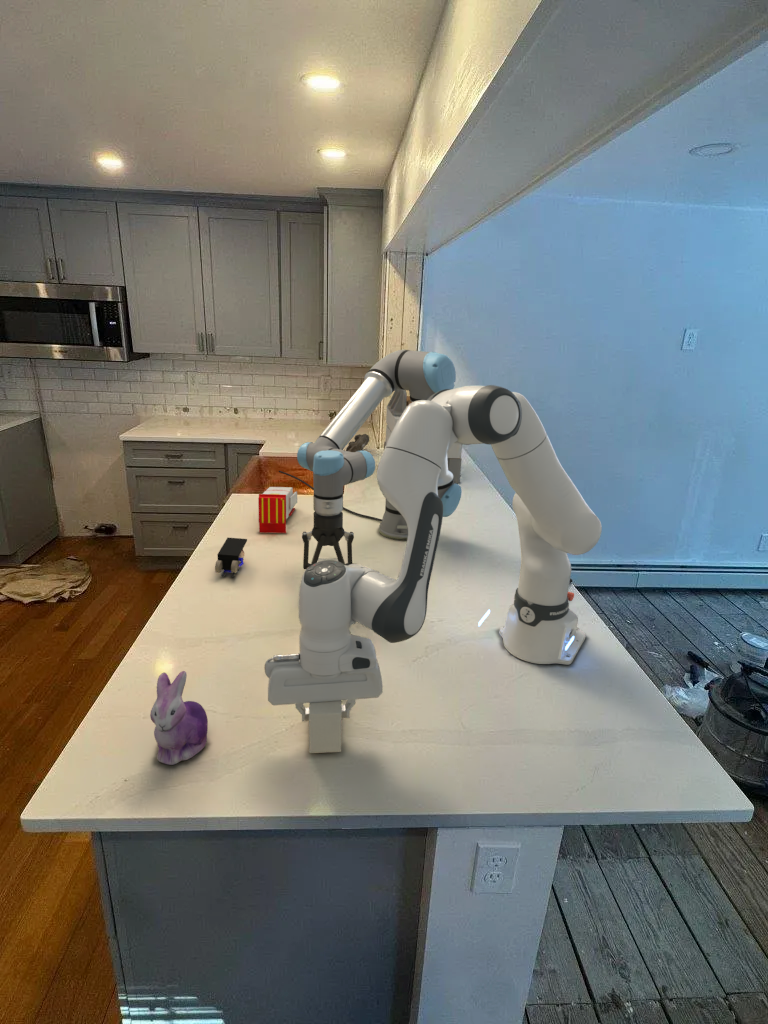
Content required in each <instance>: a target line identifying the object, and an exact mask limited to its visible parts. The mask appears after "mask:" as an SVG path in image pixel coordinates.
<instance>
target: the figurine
mask: <svg viewBox="0 0 768 1024" xmlns="http://www.w3.org/2000/svg"><path fill="white" fill-rule="evenodd" d="M187 676H188V675H187V672H186V671H185V670H182V671H180V672H179V673H178V674H177V675H176V677H175V679H173V681H172V682H171V681H170V677H169V675H168V674H167V672H162V673H161V674H160V675H159V676H158V677H157V681H156V699H155V701H154V702H153V705H152V708H151V710H150V715H149V717H150V720H151V722H152V723H153V724H154V725H155V727H154V729H153V736H154V740H155V742H156V743H157V747H158V750H157V751H158V752H157V757H156V758H157V761H159V762H160V763H162V764H165V765H168V766H169V765H171V766H172V765H177V764H178V763H180V762H182V761H188V760H190V759H191V758H193V757H194V756H196V755H197V754H199V753H200V752H201V751H202V750H203V749H204V748H205V747H206V745H207V741H208V730H209V729H208V728H209V727H208V726H209V723H208V721H209V720H208V715H207V713H206V710H205V708H204V707H203V705H202V704H200V703H199V702H197V701H194V700H186V701H184V700H183V697H182V696H183V693H184V688H185V687H186V681H187Z"/></svg>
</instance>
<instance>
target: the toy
mask: <svg viewBox="0 0 768 1024" xmlns="http://www.w3.org/2000/svg"><path fill="white" fill-rule="evenodd" d="M293 490H294V488H293V487H288V486H286V487H285V486H269V487H268V488H267V489H265V490H264V492H262V493H258V498H257V499H258V530H259V531H258V533H261V534H262V533H264V534H287V520H288V518H289V517H291V516H292V515H293V514H294V512H295V510H296V508H295V506H296V504H298V491H297V490H296V491H293Z"/></svg>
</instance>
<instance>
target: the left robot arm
mask: <svg viewBox="0 0 768 1024" xmlns="http://www.w3.org/2000/svg"><path fill="white" fill-rule="evenodd" d="M456 374H457V372H456V367H455V364H454V362H453V360H452V359H451V358H450V357H449V356H448V355H447V354H445V353H438V352H436V351H424V350H423V351H421V350H411V349H398V350H395V351H392V352H390V353H389V354H386V355H385V356H383V357H382V358H380V359H379V360H378V361H377V362H376V363H375V364H373V365H372V367H371V368H370V369H368V371H367V372H366V373H365V375H364V378H363V379H364V381H363V382H362V384H361V385H360V386H359V387H358V388H357V390H355V392H354V393H353V395H352V396H351V397H350V398H349V399H348V400H347V402H346V403H345V404H344V405H343V407H342V408H341V409H340V410H339V412H338V413H337V414H335V416H334V418H333V419H332V420H331V421H330V422H329V423H328V425H327V426H326V427H325V429H324V430H323V431H322V432H321V433H320V434H319V436H318V437H317V439H315V441H314V442H312V441H310V442H309V441H307V442H304V443H302V444H300V446H299V448H298V450H297V453H296V460H297V464H298V465H299V466H300V467H301V468H303V469H306V470H309V471H311V472H312V478H313V479H312V480H313V482H312V483H313V486H312V485H310V484H309V483H307V482H306V481H304V480H303V479H301V478H298V477H296V476H295V475H292V474H290V473H288V472H285V471H282V470H278V473H279V474H280V473H281V474H283V475H286V476H288V477H291V478H293V479H295V480H297V481H299V482H301V483H303V484H304V485H305V486H307V487H309V489H311V490H313V496H312V497H313V501H312V502H313V504H312V505H313V526H312V529H311V531H302V533H301V539H302V542H303V558H302V559H303V561H302V563H303V565H302V568H303V570H304V571H305V570H306V569H307V568H308V567H309V566H311V565H313V564H315V563H317V562H318V558H320V555H321V551H322V550H323V547H327V546H329V547H333V549H334V552H335V555H336V558H338V562H341V563H342V564H344V565H346V566H347V565H349V564H353V541H354V538H355V533H354V532H353V531H350V532H349V531H345V529H344V526H343V525H344V513H343V511H346V512H348V513H350V514H353V515H356V516H359V517H362V518H365V519H366V518H367V519H371V520H374V521H378V522H379V525H378V533H379V534H380V535H381V536H382V537H385V538H387V539H389V540H395V541H407V539H408V527H407V523H406V521H405V519H404V517H403V516H402V515H401V513H400V512H399V511H398V510H397V509H396V508H395V507H394V506H393V505H392V504H390V503H389V502H388V501H387V499H386V498H385V504H384V505H385V507H384V508H385V509H384V513H383V515H382V518H378V517H375V516H370V515H366V514H363V513H359V512H355V511H353V510H351V509H348V508H346V507H344V486H346V485H347V486H348V485H350V484H353V483H356V482H359V481H363V480H365V479H367V478H370V477H371V476H372V475H373V474H374V473H375V470H376V460H375V457H374V455H373V454H372V453H371V452H369V451H367V450H363V451H362V450H361V451H356V452H349V451H346V450H344V449H345V448H346V447H347V446H348V445H349V442H351V440H352V439H353V437H355V436H356V435H357V433H358V432H359V430H360V429H361V427H362V426H363V425H364V424H365V423H366V421H367V420H368V418H370V416H371V415H372V414H373V412H374V411H375V410H376V409H377V407H378V406H379V405H380V404H381V403H382V401H383V400H384V399H385V398H389V397H390V396H392V395H393V393H394V392H395V390H398V389H403V390H406V391H408V393H409V396H410V401H411V402H414V401H418V400H427V399H428V398H429V397H430V396H432V395H433V394H435V393H436V392H439V391H441V390H445V389H455V383H456V380H457V378H456V377H457V375H456ZM438 497H439V498H440V499H441V501H442V503H443V518H447V517H450V516H452V515H453V514H454V512H455V511H456V509H457V508H458V506H459V504H460V501H461V498H462V487H461V485H460V484H459V483H454V480H453V474H452V473H451V472H450V471H449V470H448V460H447V454H446V458H445V461H444V464H443V466H442V469H441V472H440V475H439V479H438ZM312 537H313V538H314V540H315V541H316V542H317V543H316V546H315V549H314V553H313V556H312V559H311V563H309V555H310V554H309V552H310V541H311V540H312ZM343 537H344V540H345V541H346V548H347V549H346V551H347V562H345V559H344V556H343V552H342V549H341V546H340V543H339V542H340V541H341V540H342V539H343Z"/></svg>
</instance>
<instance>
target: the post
mask: <svg viewBox="0 0 768 1024" xmlns="http://www.w3.org/2000/svg"><path fill="white" fill-rule="evenodd" d="M325 560H334V561H338V558H337V557H335V558H334V557H333V558H332V557H329V558H327V557H326V558H325V557H324V558H323V557H321V558H320V557H319V558H318V561H317V562H320V561H325ZM308 704H309V705H308V707H309V721H308V753H309V754H319V753H320V754H321V753H322V754H323V753H341V752H342V727H343V726H342V720H343V718H342V705H343V704H342V700H340V701H327V702H314V703H308Z"/></svg>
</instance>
